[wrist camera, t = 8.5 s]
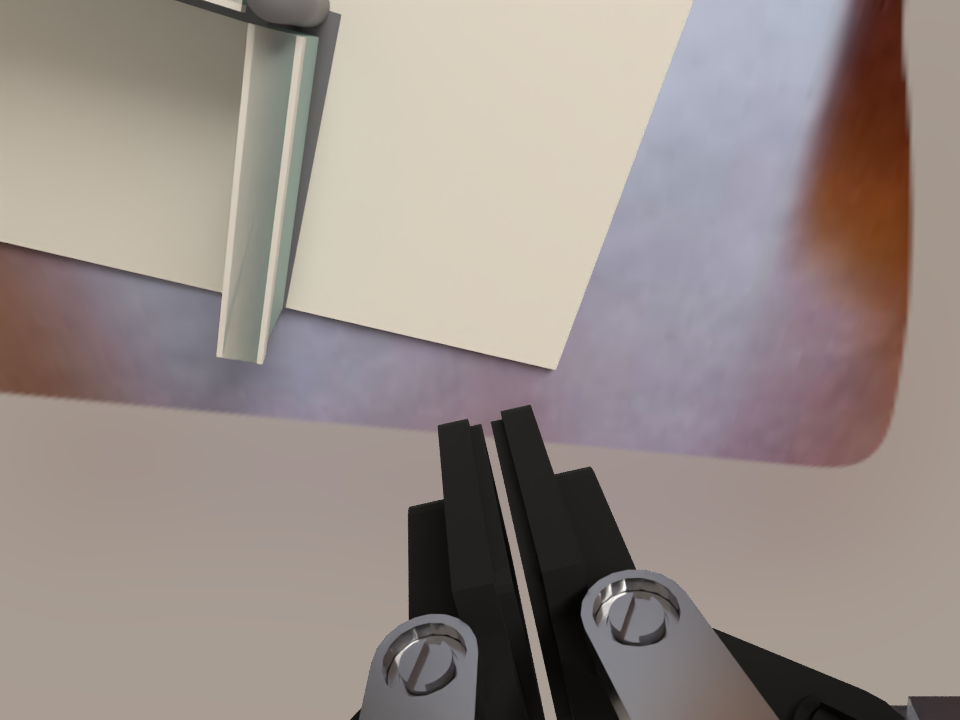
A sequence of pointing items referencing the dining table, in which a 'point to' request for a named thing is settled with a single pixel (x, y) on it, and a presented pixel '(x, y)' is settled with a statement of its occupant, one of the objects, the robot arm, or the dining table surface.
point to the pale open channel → (265, 186)
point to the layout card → (344, 151)
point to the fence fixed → (283, 10)
